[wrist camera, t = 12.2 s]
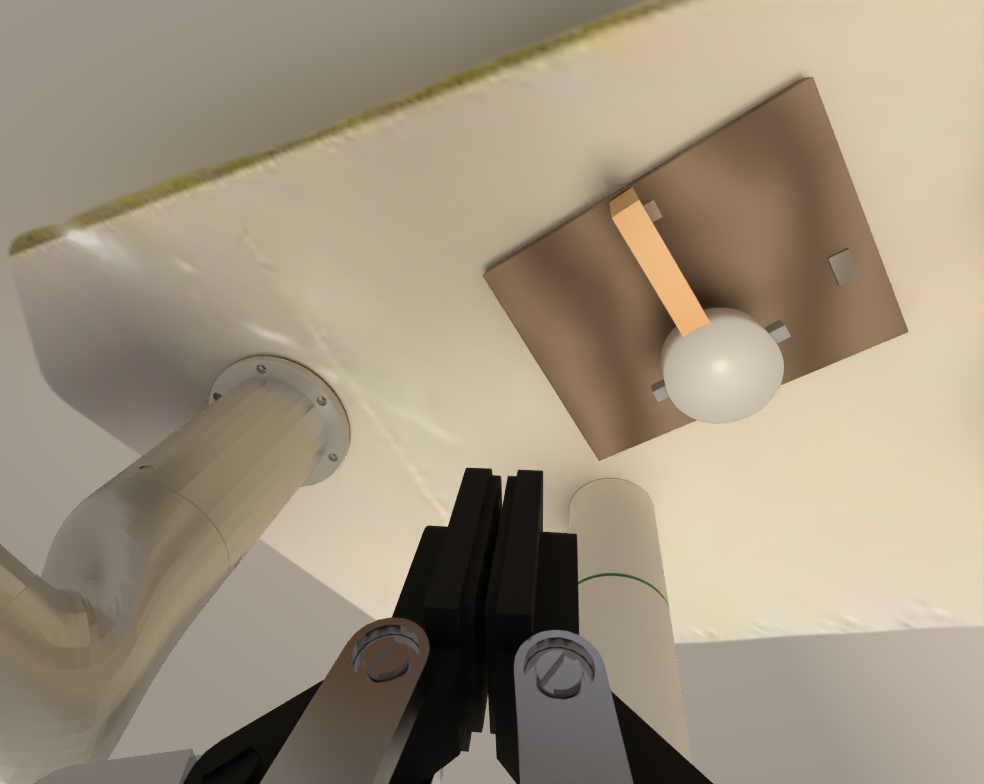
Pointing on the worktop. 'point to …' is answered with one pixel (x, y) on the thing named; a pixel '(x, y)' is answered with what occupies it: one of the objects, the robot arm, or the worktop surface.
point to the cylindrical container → (628, 602)
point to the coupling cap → (702, 335)
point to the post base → (705, 269)
